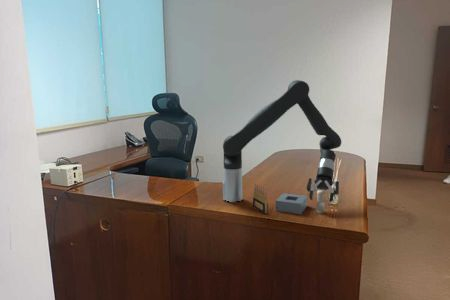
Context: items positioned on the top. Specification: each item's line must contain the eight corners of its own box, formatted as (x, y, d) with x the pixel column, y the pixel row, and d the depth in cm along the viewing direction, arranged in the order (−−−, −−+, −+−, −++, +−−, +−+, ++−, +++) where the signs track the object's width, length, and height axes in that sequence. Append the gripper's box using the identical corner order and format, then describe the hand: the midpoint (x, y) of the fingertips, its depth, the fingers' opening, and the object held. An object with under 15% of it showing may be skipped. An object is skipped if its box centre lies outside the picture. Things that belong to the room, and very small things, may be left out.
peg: (315, 212, 157) (316, 192, 155) (317, 210, 160) (317, 189, 158) (323, 213, 156) (324, 192, 154) (325, 211, 159) (325, 190, 157)
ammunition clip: (268, 213, 158) (268, 188, 156) (264, 214, 157) (264, 189, 155) (256, 206, 167) (255, 182, 165) (252, 207, 167) (252, 183, 164)
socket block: (275, 210, 161) (275, 200, 160) (283, 202, 172) (283, 193, 171) (301, 214, 156) (301, 203, 155) (307, 205, 166) (307, 195, 165)
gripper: (309, 164, 164) (303, 194, 156) (340, 167, 158) (336, 198, 150) (311, 173, 170) (306, 202, 162) (341, 175, 164) (337, 206, 156)
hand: (320, 200), depth 156 cm, fingers open, 8 cm apart
